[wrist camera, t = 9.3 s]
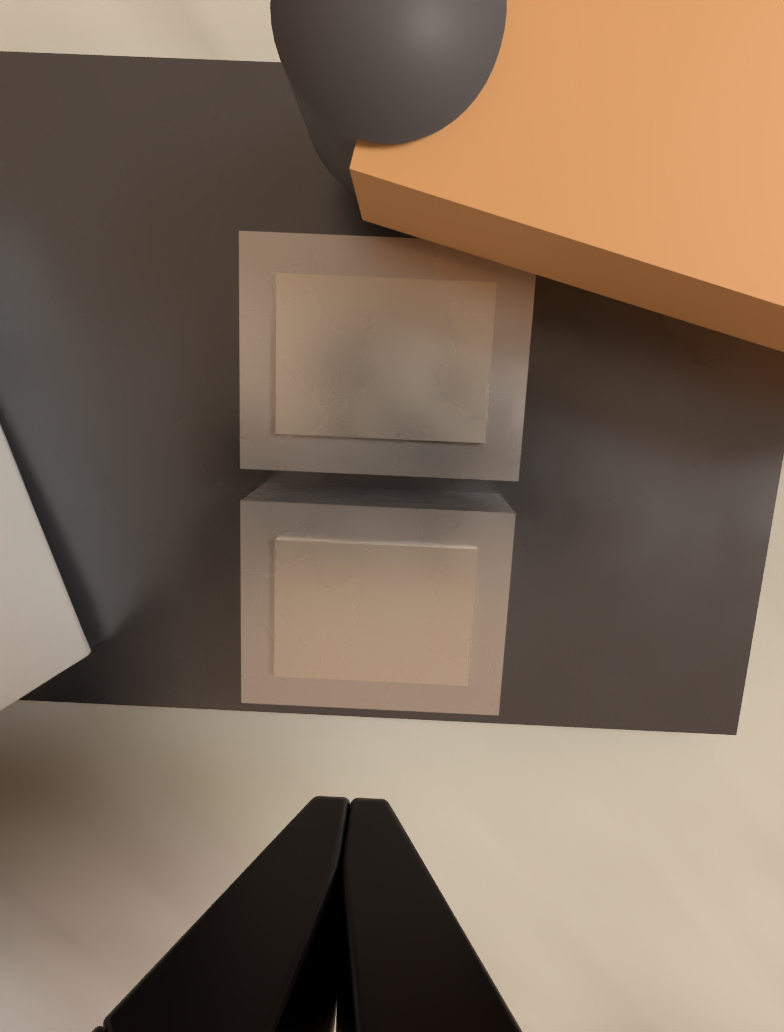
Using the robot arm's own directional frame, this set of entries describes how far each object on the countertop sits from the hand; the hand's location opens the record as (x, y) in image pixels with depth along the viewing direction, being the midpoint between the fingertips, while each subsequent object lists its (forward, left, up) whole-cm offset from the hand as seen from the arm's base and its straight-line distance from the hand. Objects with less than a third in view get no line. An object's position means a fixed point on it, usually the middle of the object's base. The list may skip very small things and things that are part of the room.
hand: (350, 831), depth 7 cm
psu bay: (+4, 0, -11) cm, 12 cm away
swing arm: (+8, -6, -7) cm, 12 cm away
